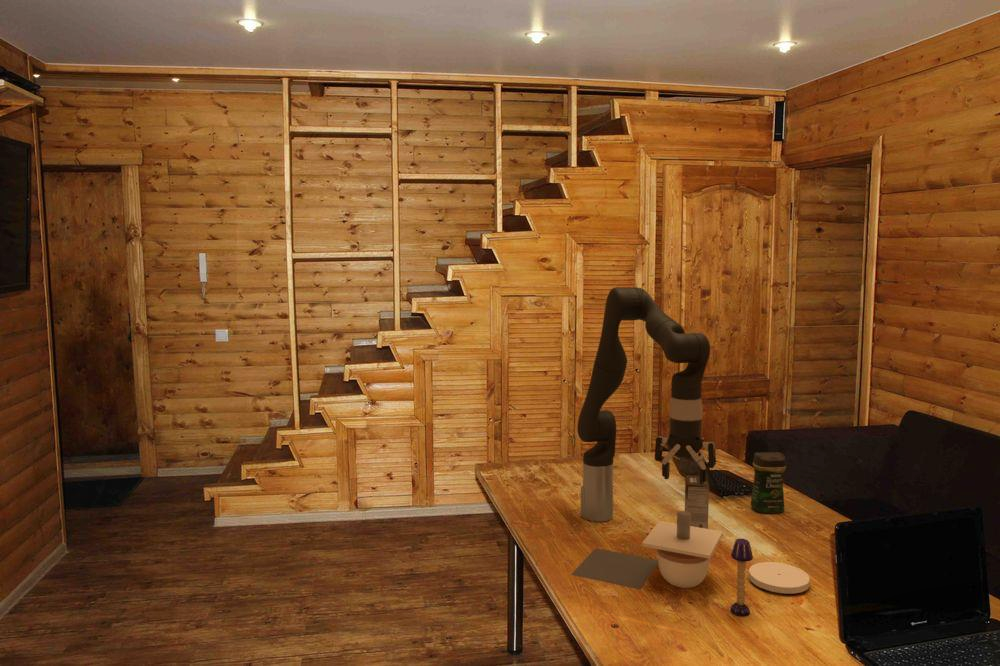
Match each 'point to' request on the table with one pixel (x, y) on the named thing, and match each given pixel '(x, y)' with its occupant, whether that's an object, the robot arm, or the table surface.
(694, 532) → the cover board
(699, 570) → the lidded bowl
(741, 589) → the toy lamp
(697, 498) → the coffee box
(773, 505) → the coffee jar
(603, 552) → the rubber mat
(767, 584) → the plastic lid
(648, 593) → the table surface
